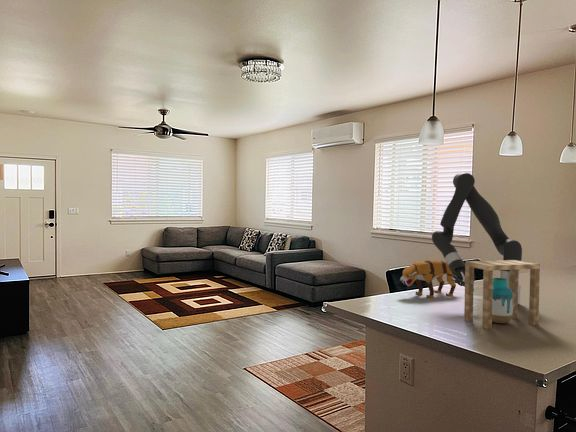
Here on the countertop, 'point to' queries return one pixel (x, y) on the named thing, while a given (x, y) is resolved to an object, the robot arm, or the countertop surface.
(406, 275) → the toy
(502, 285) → the vase
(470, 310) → the riser shelf
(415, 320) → the countertop surface
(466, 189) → the robot arm
